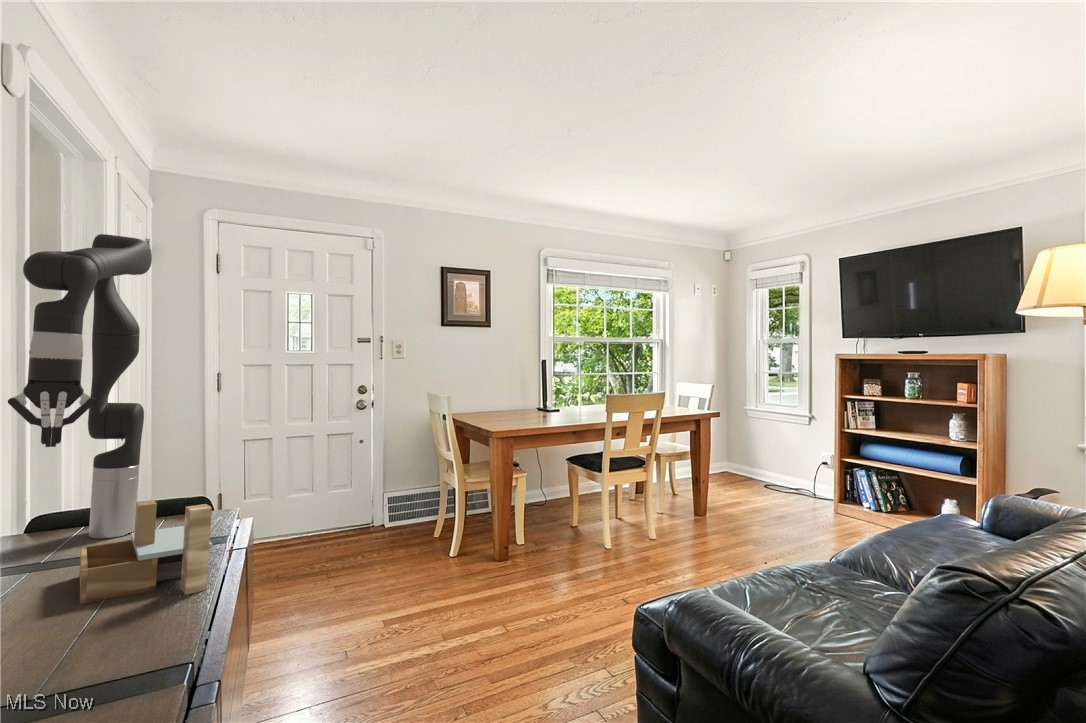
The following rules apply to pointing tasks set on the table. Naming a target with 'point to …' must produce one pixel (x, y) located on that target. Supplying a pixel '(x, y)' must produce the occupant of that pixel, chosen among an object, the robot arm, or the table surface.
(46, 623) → the table surface
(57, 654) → the table surface
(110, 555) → the wooden box
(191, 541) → the wooden block
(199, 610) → the table surface
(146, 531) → the lid
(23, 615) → the table surface
